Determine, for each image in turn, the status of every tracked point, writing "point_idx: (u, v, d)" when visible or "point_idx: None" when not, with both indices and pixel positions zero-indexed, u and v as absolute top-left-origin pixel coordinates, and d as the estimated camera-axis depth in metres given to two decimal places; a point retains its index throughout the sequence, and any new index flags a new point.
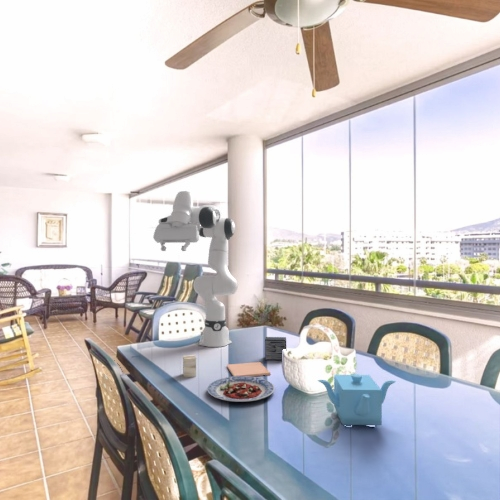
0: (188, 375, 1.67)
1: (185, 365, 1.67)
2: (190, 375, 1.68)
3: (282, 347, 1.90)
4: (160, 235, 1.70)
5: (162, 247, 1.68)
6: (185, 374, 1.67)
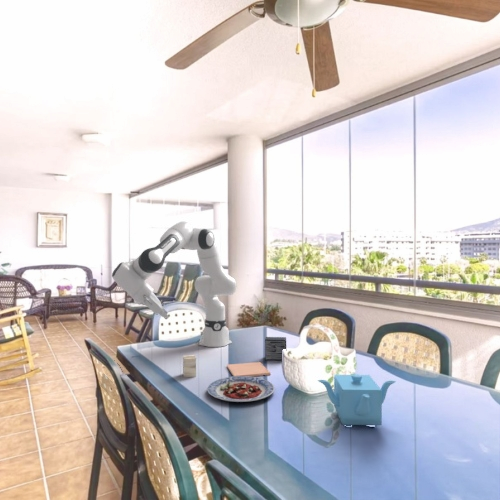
0: (188, 375, 1.67)
1: (185, 365, 1.67)
2: (190, 375, 1.68)
3: (282, 347, 1.90)
4: None
5: None
6: (185, 374, 1.67)
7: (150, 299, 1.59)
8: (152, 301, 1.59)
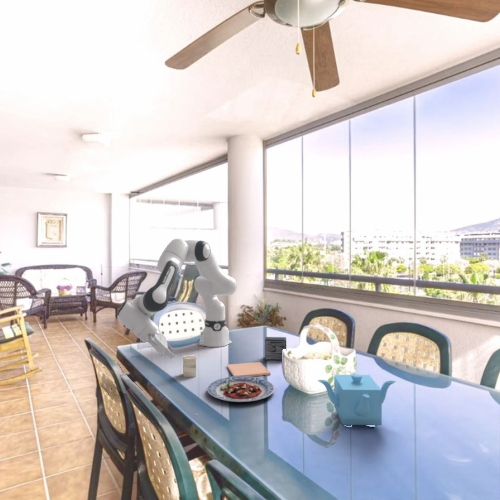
0: (188, 375, 1.67)
1: (185, 365, 1.67)
2: (190, 375, 1.68)
3: (282, 347, 1.90)
4: None
5: None
6: (185, 374, 1.67)
7: (155, 339, 1.57)
8: (157, 341, 1.57)
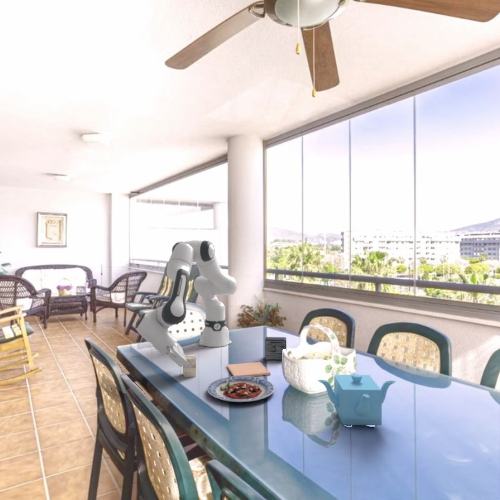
0: (188, 375, 1.67)
1: None
2: (190, 375, 1.68)
3: (282, 347, 1.90)
4: None
5: None
6: (185, 374, 1.67)
7: (174, 352, 1.59)
8: (176, 354, 1.59)
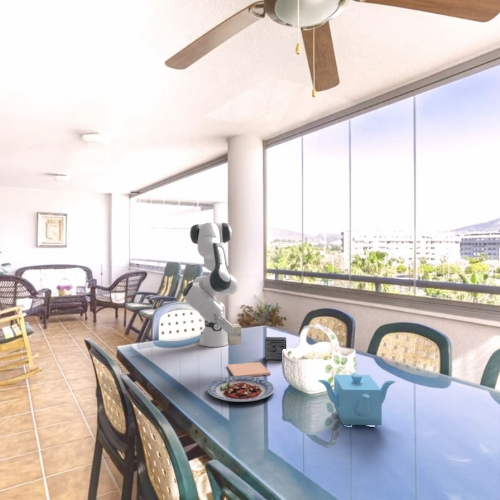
0: (233, 343, 1.72)
1: None
2: (235, 343, 1.72)
3: (282, 347, 1.90)
4: None
5: None
6: (231, 342, 1.71)
7: (222, 318, 1.63)
8: (224, 320, 1.63)
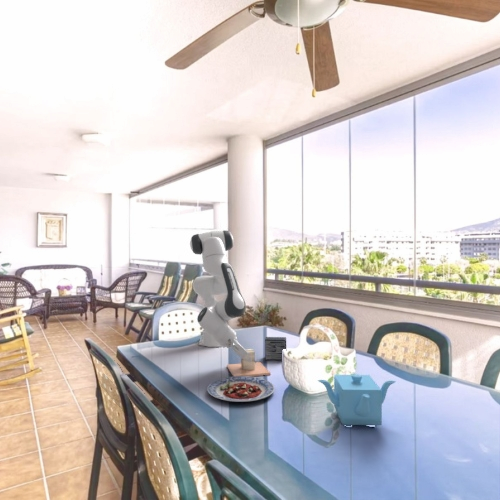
0: (247, 368, 1.73)
1: None
2: (249, 369, 1.73)
3: (282, 347, 1.90)
4: None
5: None
6: (244, 367, 1.73)
7: (237, 344, 1.65)
8: (239, 346, 1.65)
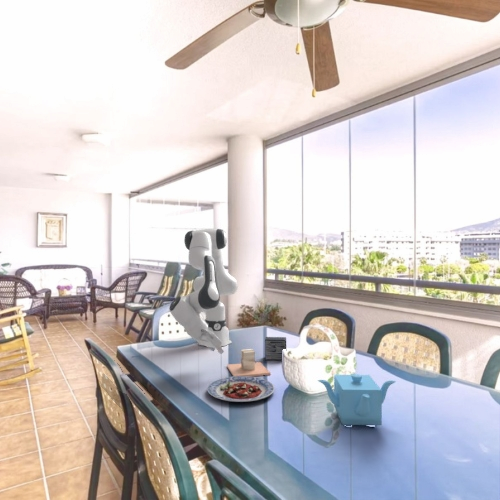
0: (247, 368, 1.73)
1: (244, 358, 1.73)
2: (249, 369, 1.73)
3: (282, 347, 1.90)
4: (200, 342, 1.76)
5: (211, 350, 1.76)
6: (244, 367, 1.73)
7: (211, 333, 1.63)
8: (213, 335, 1.63)
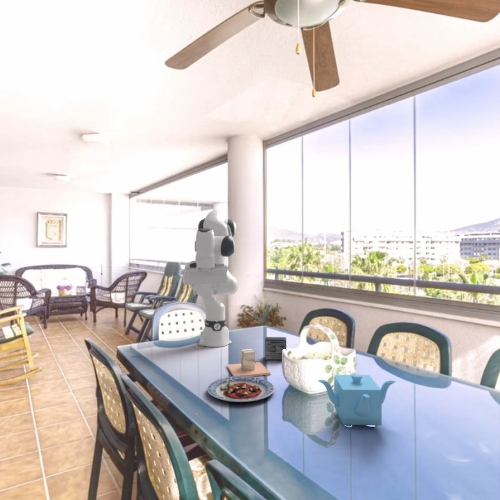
0: (247, 368, 1.73)
1: (244, 358, 1.73)
2: (249, 369, 1.73)
3: (282, 347, 1.90)
4: (191, 280, 1.75)
5: (195, 292, 1.76)
6: (244, 367, 1.73)
7: None
8: None
